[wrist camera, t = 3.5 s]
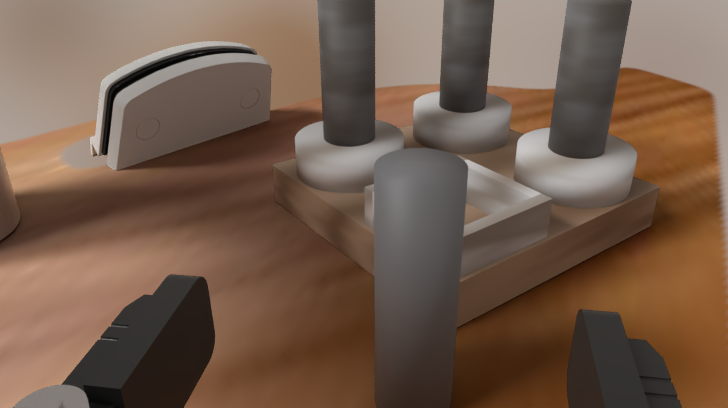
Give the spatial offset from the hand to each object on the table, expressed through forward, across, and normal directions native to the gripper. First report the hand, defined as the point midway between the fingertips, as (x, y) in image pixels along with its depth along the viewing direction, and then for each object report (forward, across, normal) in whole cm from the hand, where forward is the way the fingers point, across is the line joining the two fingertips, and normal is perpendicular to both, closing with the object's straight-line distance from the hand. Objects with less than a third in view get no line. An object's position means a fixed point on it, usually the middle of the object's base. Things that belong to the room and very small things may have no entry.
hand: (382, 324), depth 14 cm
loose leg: (+12, 0, +13) cm, 18 cm away
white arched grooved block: (+41, +23, +13) cm, 49 cm away
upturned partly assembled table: (+30, -1, +13) cm, 33 cm away
